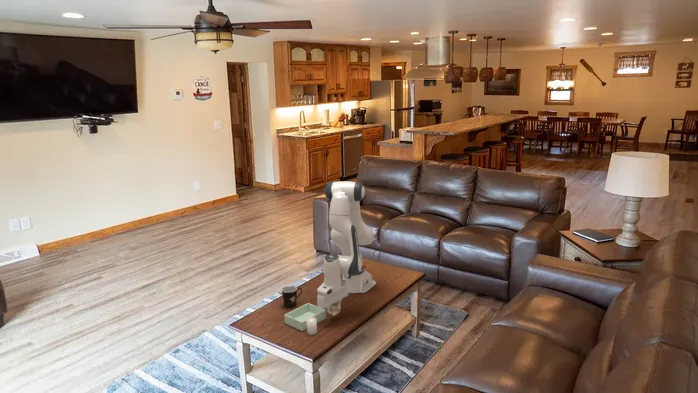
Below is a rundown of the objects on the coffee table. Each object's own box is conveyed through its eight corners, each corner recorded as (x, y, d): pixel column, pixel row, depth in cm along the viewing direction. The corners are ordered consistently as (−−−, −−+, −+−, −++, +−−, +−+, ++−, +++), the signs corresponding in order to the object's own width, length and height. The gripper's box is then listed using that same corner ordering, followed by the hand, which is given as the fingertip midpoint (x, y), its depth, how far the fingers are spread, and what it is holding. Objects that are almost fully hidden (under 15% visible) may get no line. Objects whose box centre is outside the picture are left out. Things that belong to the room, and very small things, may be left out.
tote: (308, 311, 261) (308, 302, 259) (326, 318, 252) (325, 309, 251) (284, 323, 248) (284, 314, 247) (302, 331, 240) (301, 322, 238)
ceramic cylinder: (312, 328, 242) (311, 316, 240) (319, 332, 239) (318, 319, 237) (304, 332, 238) (304, 320, 237) (311, 336, 235) (311, 323, 234)
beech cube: (333, 309, 254) (333, 300, 252) (340, 311, 250) (340, 303, 249) (327, 312, 250) (326, 304, 249) (334, 315, 247) (333, 307, 245)
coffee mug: (283, 310, 263) (282, 293, 260) (282, 303, 271) (281, 286, 269) (304, 307, 265) (303, 291, 262) (302, 300, 273) (301, 284, 271)
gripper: (341, 276, 256) (342, 300, 259) (314, 290, 241) (315, 315, 245) (350, 279, 252) (351, 303, 255) (323, 294, 237) (324, 319, 241)
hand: (333, 309), depth 250 cm, fingers closed on beech cube, 5 cm apart
